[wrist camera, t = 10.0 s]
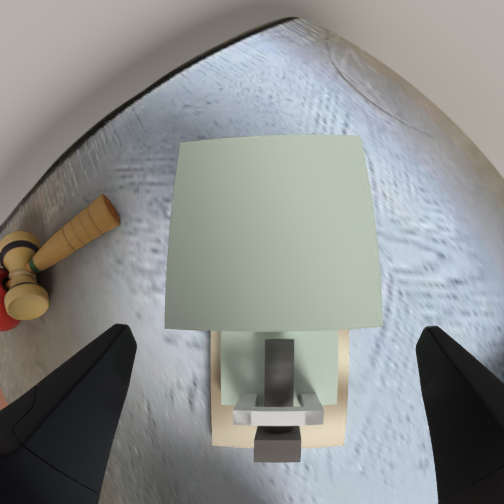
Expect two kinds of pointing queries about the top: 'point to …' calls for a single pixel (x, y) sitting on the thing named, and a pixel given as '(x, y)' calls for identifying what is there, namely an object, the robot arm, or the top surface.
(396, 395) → the top surface
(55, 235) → the kendama
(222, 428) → the board
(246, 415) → the tall sage green column
